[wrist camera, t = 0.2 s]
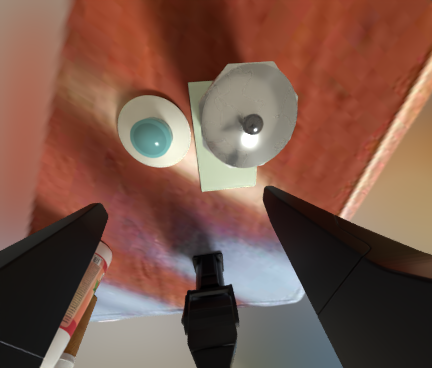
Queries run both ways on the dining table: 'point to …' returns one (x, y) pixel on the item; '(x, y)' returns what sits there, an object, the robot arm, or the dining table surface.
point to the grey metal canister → (248, 114)
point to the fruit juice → (79, 304)
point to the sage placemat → (208, 164)
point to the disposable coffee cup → (76, 338)
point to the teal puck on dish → (154, 131)
